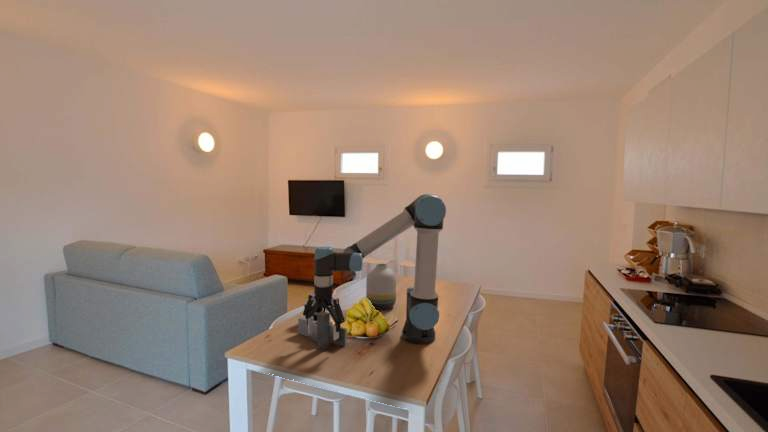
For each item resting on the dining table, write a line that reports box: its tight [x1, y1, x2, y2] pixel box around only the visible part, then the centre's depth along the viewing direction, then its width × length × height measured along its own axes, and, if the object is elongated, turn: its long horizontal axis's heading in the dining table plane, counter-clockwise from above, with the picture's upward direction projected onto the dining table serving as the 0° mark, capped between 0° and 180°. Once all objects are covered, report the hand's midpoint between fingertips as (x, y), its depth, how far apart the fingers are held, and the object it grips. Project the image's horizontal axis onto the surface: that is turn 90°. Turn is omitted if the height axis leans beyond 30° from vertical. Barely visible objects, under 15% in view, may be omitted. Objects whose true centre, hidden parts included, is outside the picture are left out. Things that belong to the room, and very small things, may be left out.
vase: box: [365, 263, 398, 310], centre depth 202 cm, size 17×17×24 cm
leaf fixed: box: [311, 324, 348, 347], centre depth 155 cm, size 16×6×7 cm, turn 63°
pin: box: [316, 311, 331, 352], centre depth 148 cm, size 4×4×15 cm
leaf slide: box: [297, 317, 333, 338], centre depth 159 cm, size 16×7×7 cm, turn 63°
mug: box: [303, 299, 326, 321], centre depth 177 cm, size 12×9×10 cm
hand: (323, 335), depth 148 cm, fingers open, 12 cm apart
